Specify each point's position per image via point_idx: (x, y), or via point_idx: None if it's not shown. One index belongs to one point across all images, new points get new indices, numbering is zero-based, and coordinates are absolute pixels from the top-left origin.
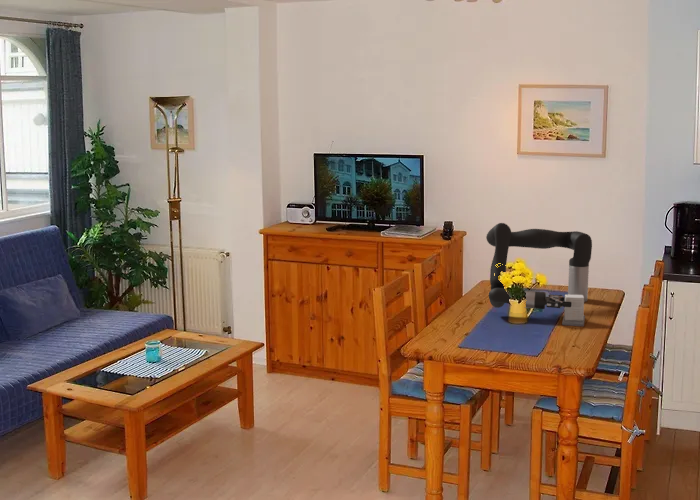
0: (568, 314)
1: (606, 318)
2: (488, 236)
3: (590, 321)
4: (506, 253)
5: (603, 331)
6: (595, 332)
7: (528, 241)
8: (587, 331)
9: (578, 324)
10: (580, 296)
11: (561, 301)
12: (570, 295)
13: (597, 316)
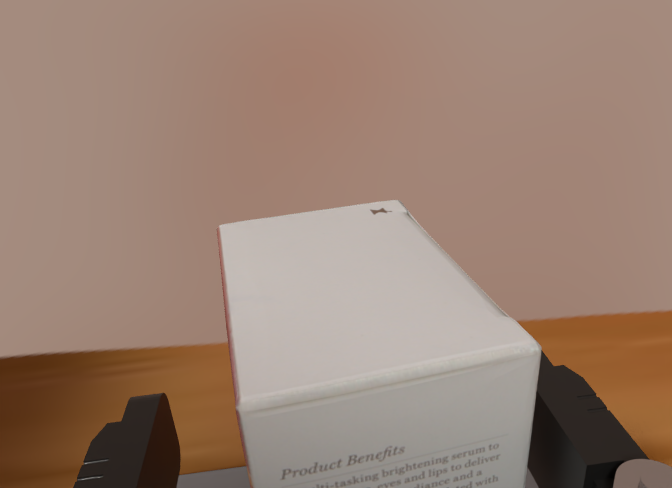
0: None
1: (150, 362)
2: None
3: None
4: None
5: (550, 324)
6: (626, 354)
7: None
8: (654, 400)
9: (533, 484)
10: (342, 223)
11: (658, 474)
12: (332, 307)
13: (79, 419)
